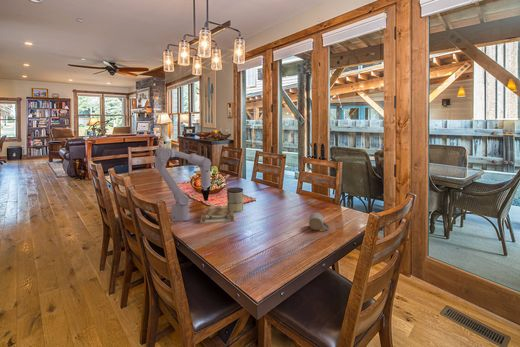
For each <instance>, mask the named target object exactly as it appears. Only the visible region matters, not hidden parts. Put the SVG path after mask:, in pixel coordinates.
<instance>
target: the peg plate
mask: <svg viewBox="0 0 520 347" xmlns="http://www.w3.org/2000/svg"><path fill="white" fill-rule="evenodd" d="M235 214H236V213H233V210H230V212H229V213H228V215H223V216H208V214H207V211H206V210H203V211H202V215H201V216H200V224H206V223H207V224H210V223H229V222H233V223H234V222H236V221H237V220H236V215H235Z"/></svg>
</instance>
